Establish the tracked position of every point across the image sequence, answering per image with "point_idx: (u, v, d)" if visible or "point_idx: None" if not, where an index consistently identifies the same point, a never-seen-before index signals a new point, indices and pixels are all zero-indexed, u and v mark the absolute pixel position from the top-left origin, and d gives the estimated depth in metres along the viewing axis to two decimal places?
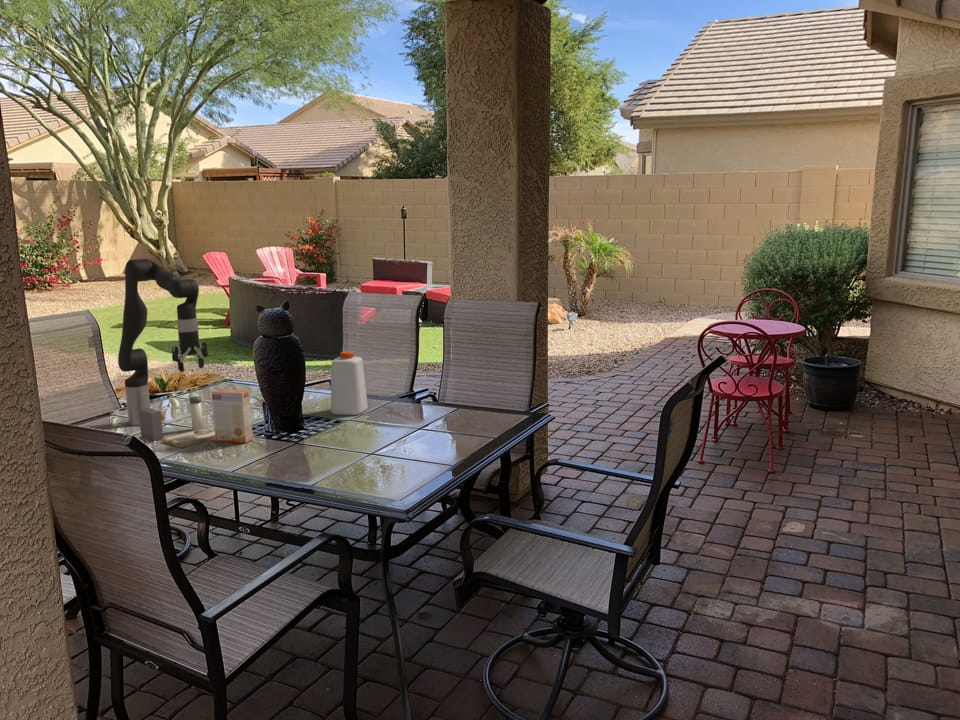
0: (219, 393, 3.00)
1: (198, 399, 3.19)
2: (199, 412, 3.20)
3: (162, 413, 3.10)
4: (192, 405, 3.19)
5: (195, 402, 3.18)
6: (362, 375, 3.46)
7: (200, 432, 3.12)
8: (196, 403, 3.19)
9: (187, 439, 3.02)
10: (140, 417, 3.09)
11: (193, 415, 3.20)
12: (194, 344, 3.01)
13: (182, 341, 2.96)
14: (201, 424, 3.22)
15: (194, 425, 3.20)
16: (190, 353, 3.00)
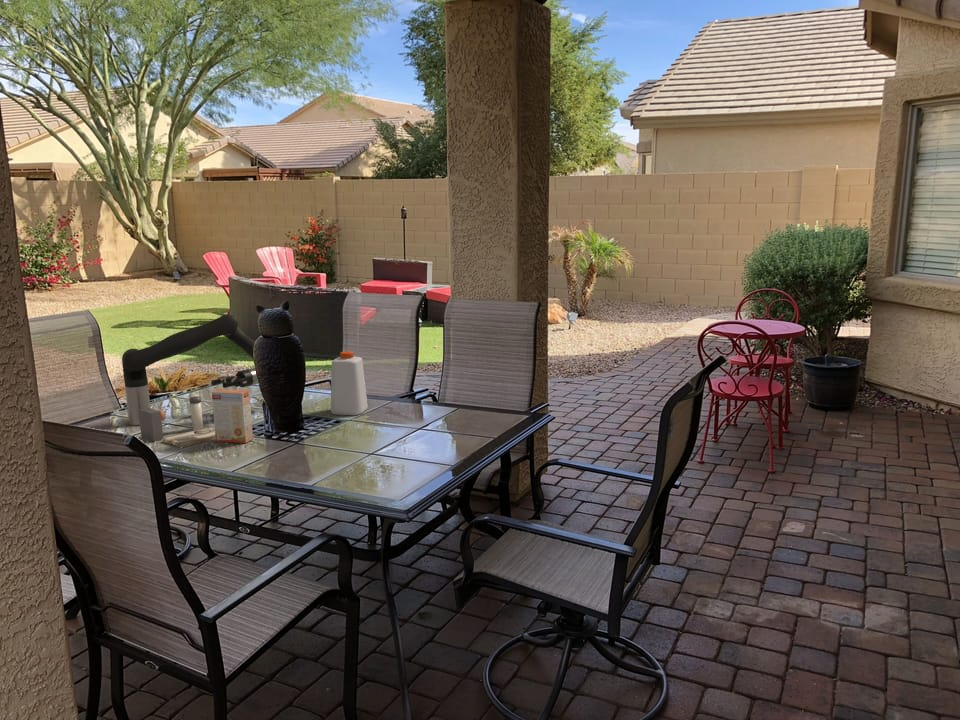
0: (219, 393, 3.00)
1: (198, 399, 3.19)
2: (199, 412, 3.20)
3: (162, 413, 3.10)
4: (192, 405, 3.19)
5: (195, 402, 3.18)
6: (362, 375, 3.46)
7: (200, 432, 3.12)
8: (196, 403, 3.19)
9: (187, 439, 3.02)
10: (140, 417, 3.09)
11: (193, 415, 3.20)
12: None
13: None
14: (201, 424, 3.22)
15: (194, 425, 3.20)
16: None
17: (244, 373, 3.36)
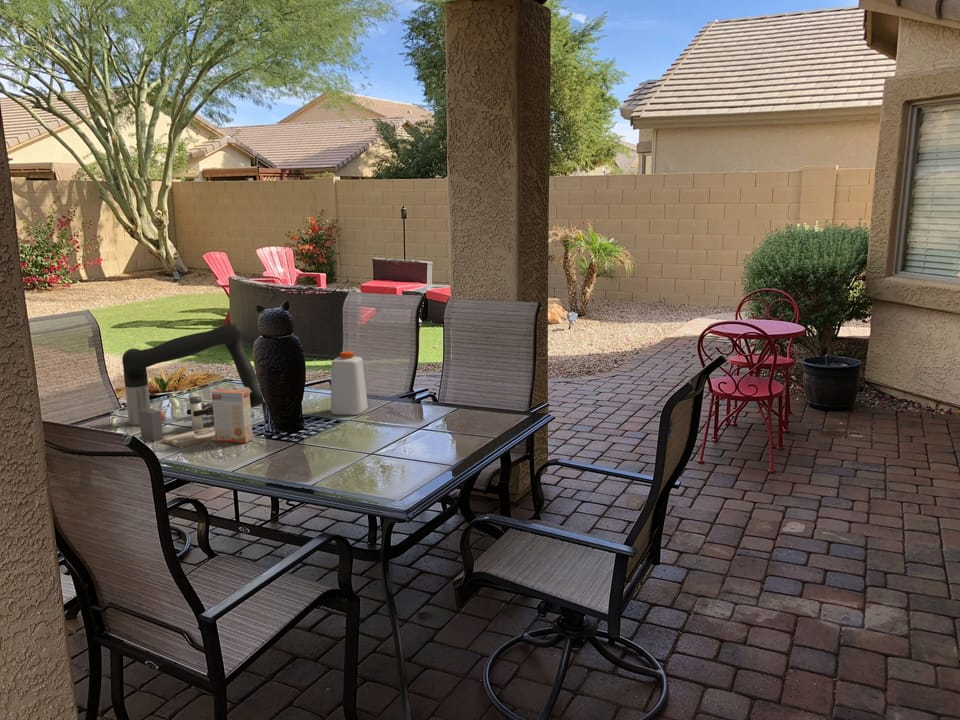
0: (219, 393, 3.00)
1: (198, 399, 3.19)
2: None
3: (162, 413, 3.10)
4: (192, 405, 3.19)
5: (195, 402, 3.18)
6: (362, 375, 3.46)
7: (200, 432, 3.12)
8: (196, 403, 3.19)
9: (187, 439, 3.02)
10: (140, 417, 3.09)
11: None
12: None
13: None
14: (201, 424, 3.22)
15: (194, 425, 3.20)
16: None
17: None
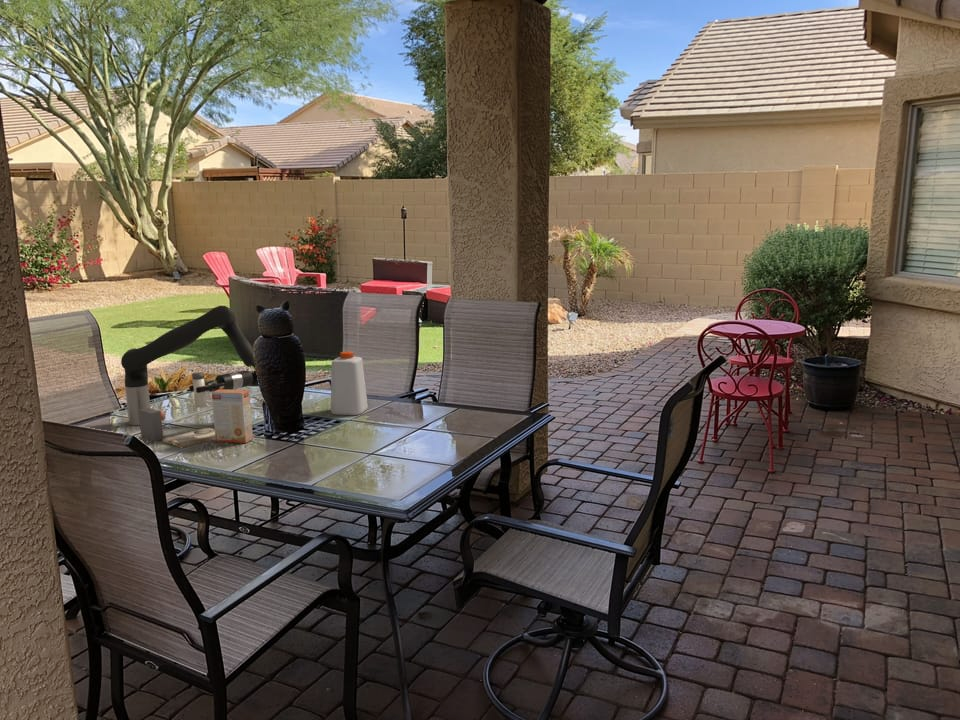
0: (219, 393, 3.00)
1: (201, 375, 3.08)
2: None
3: (162, 413, 3.10)
4: (195, 381, 3.08)
5: (198, 378, 3.07)
6: (362, 375, 3.46)
7: (200, 432, 3.12)
8: (199, 379, 3.08)
9: (187, 439, 3.02)
10: (140, 417, 3.09)
11: None
12: None
13: (226, 387, 3.16)
14: (204, 401, 3.11)
15: (197, 402, 3.09)
16: None
17: (224, 377, 3.17)
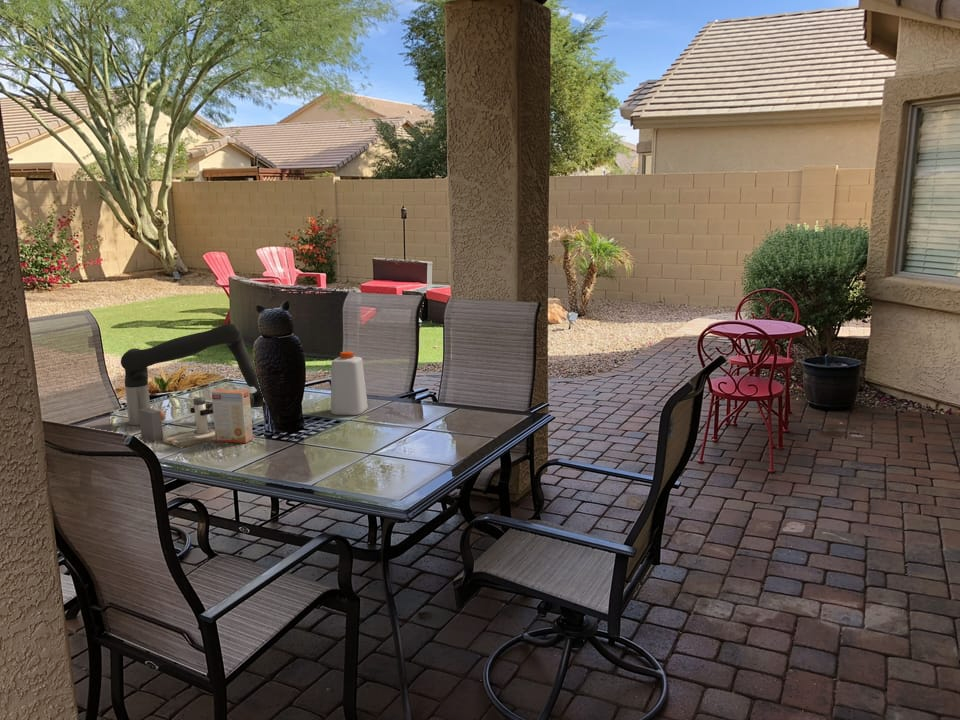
0: (219, 393, 3.00)
1: (202, 400, 3.10)
2: None
3: (162, 413, 3.10)
4: (196, 406, 3.09)
5: (199, 403, 3.09)
6: (362, 375, 3.46)
7: None
8: (200, 404, 3.09)
9: (187, 439, 3.02)
10: (140, 417, 3.09)
11: (197, 417, 3.10)
12: None
13: None
14: (206, 426, 3.12)
15: (198, 427, 3.11)
16: None
17: None
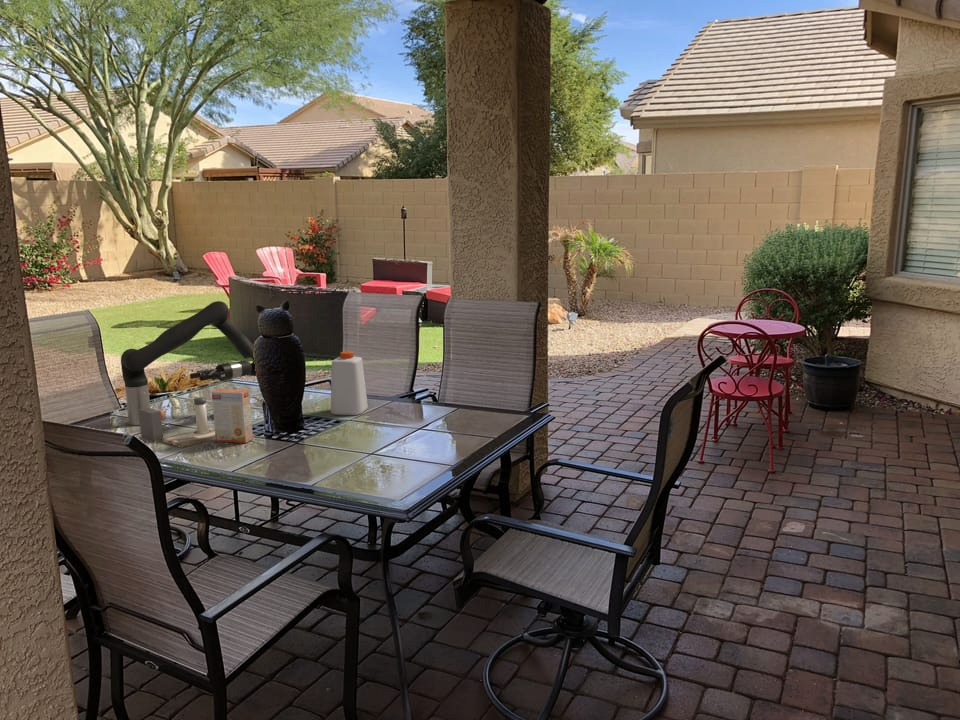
0: (219, 393, 3.00)
1: (203, 400, 3.10)
2: (204, 413, 3.11)
3: (162, 413, 3.10)
4: (197, 406, 3.09)
5: (200, 403, 3.09)
6: (362, 375, 3.46)
7: None
8: (201, 404, 3.09)
9: (187, 439, 3.02)
10: (140, 417, 3.09)
11: (198, 417, 3.10)
12: None
13: (225, 376, 3.30)
14: (206, 426, 3.12)
15: (199, 427, 3.11)
16: None
17: (224, 366, 3.31)
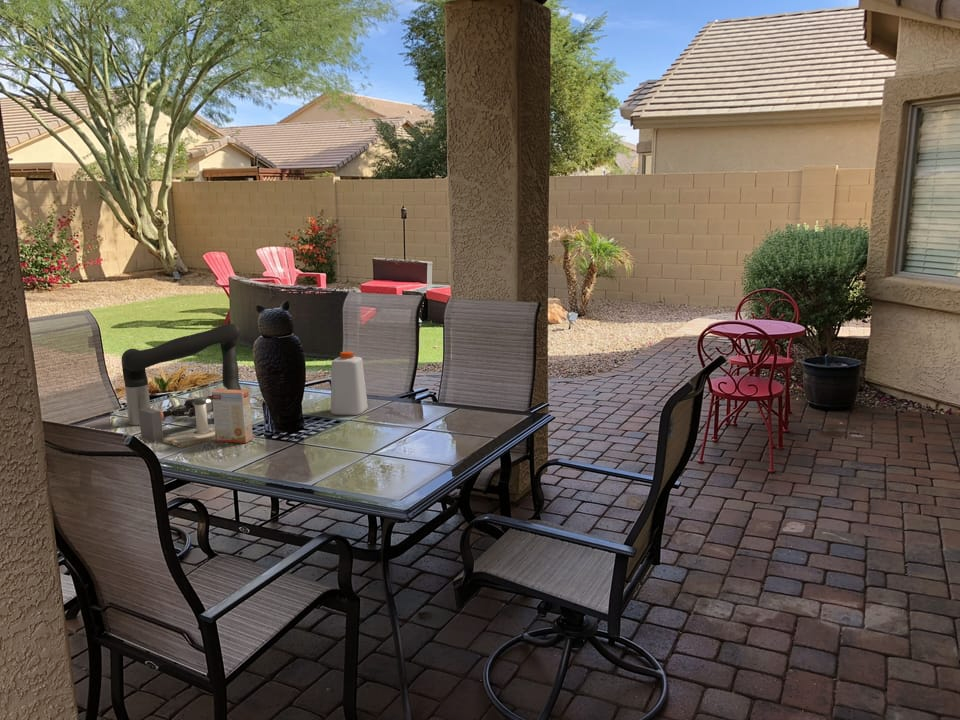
0: (219, 393, 3.00)
1: (203, 400, 3.10)
2: (204, 413, 3.11)
3: (161, 413, 3.10)
4: (197, 406, 3.09)
5: (200, 403, 3.09)
6: (362, 375, 3.46)
7: None
8: (201, 404, 3.09)
9: (187, 439, 3.02)
10: (140, 417, 3.09)
11: (198, 417, 3.10)
12: None
13: (194, 412, 3.20)
14: (206, 426, 3.12)
15: (199, 427, 3.11)
16: None
17: (192, 402, 3.20)
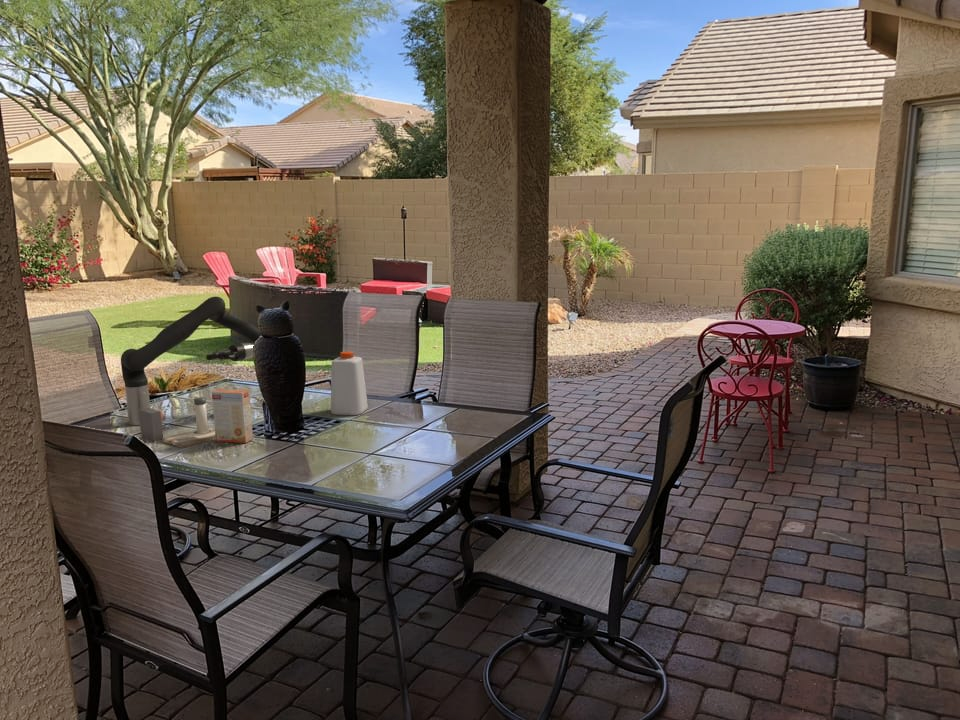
0: (219, 393, 3.00)
1: (203, 400, 3.10)
2: (204, 413, 3.11)
3: None
4: (197, 406, 3.09)
5: (200, 403, 3.09)
6: (362, 375, 3.46)
7: None
8: (201, 404, 3.09)
9: (187, 439, 3.02)
10: (140, 417, 3.09)
11: (198, 417, 3.10)
12: None
13: (238, 356, 3.32)
14: (206, 426, 3.12)
15: (199, 427, 3.11)
16: None
17: (237, 347, 3.33)
